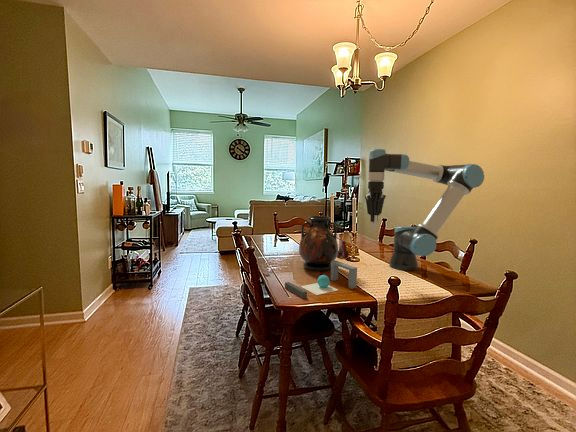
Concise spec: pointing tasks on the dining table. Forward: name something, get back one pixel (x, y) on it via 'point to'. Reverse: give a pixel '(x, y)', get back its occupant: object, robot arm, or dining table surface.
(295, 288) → the stopper
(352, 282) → the bridge
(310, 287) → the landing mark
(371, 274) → the dining table surface
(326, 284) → the ball
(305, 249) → the amphora vase
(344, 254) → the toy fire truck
